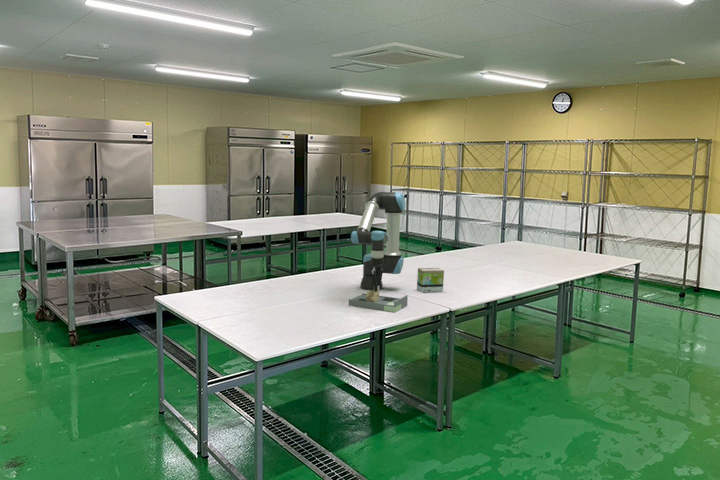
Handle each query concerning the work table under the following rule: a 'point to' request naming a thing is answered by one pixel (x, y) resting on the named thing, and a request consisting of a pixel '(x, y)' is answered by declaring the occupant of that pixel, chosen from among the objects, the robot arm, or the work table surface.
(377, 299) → the block
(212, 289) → the work table surface
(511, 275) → the work table surface
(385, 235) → the robot arm
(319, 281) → the work table surface
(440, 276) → the tea box
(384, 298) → the board
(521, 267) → the work table surface
